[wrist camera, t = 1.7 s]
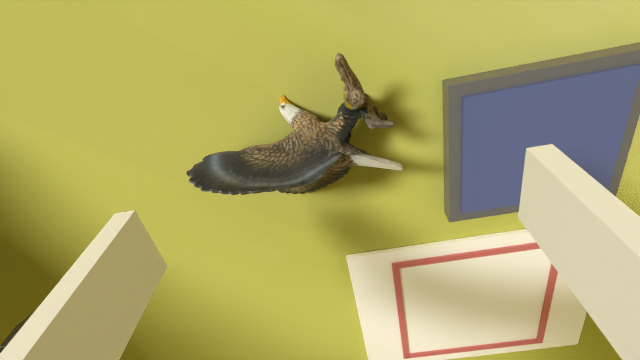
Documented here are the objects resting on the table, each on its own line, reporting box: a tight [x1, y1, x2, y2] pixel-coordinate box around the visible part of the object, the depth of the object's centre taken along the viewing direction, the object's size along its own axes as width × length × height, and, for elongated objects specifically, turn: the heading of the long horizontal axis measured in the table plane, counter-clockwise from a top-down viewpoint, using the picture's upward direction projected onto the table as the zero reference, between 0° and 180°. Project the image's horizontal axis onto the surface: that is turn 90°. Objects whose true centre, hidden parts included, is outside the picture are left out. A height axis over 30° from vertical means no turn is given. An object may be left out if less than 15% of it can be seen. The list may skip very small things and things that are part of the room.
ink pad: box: [443, 43, 640, 222], centre depth 21 cm, size 10×9×1 cm
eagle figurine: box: [187, 53, 404, 195], centre depth 18 cm, size 8×7×9 cm
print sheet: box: [346, 229, 587, 360], centre depth 28 cm, size 18×14×1 cm
